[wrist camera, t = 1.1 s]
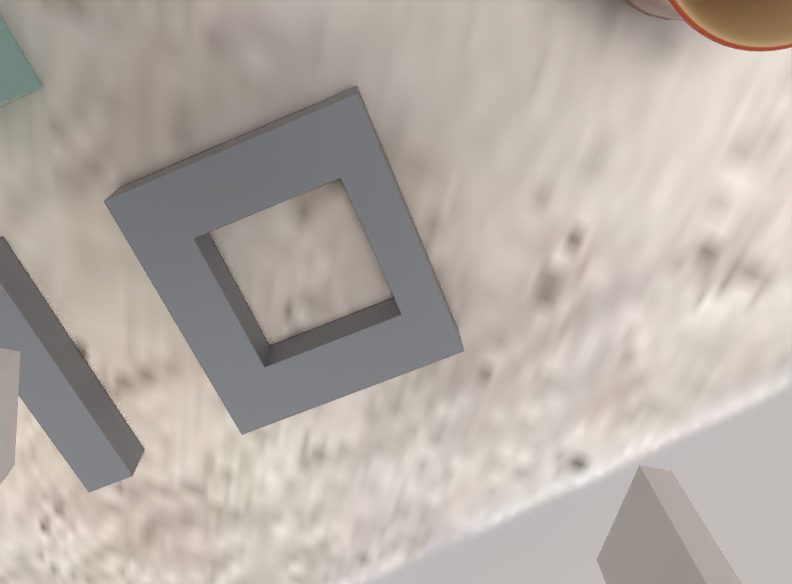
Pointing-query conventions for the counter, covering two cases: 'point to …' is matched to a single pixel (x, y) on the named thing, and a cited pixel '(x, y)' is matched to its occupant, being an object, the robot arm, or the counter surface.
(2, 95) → the teal cube block
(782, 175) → the counter surface
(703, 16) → the mug
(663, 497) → the robot arm
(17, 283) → the grey flat pieces
